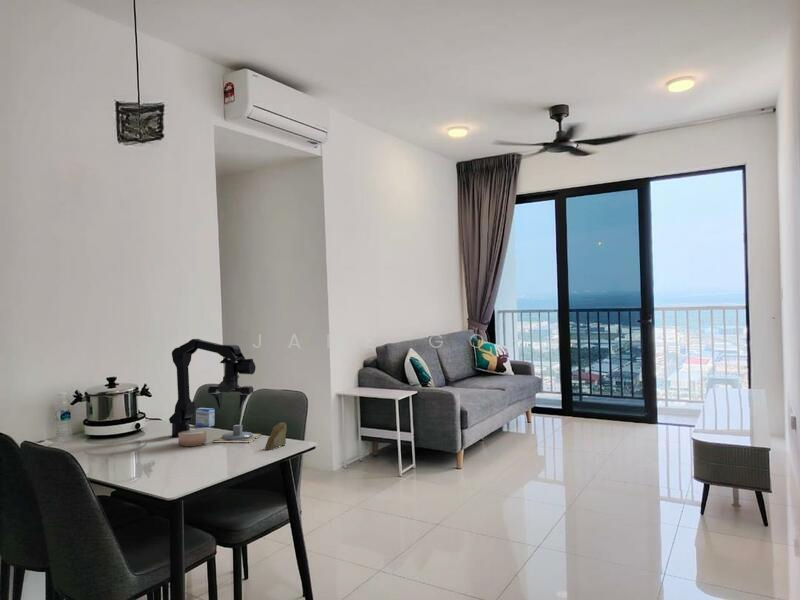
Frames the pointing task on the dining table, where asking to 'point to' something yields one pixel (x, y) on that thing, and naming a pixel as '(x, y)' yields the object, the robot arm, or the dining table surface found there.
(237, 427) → the lid
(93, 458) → the dining table surface
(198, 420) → the medicine box
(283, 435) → the rock
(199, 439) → the bowl
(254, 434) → the board
